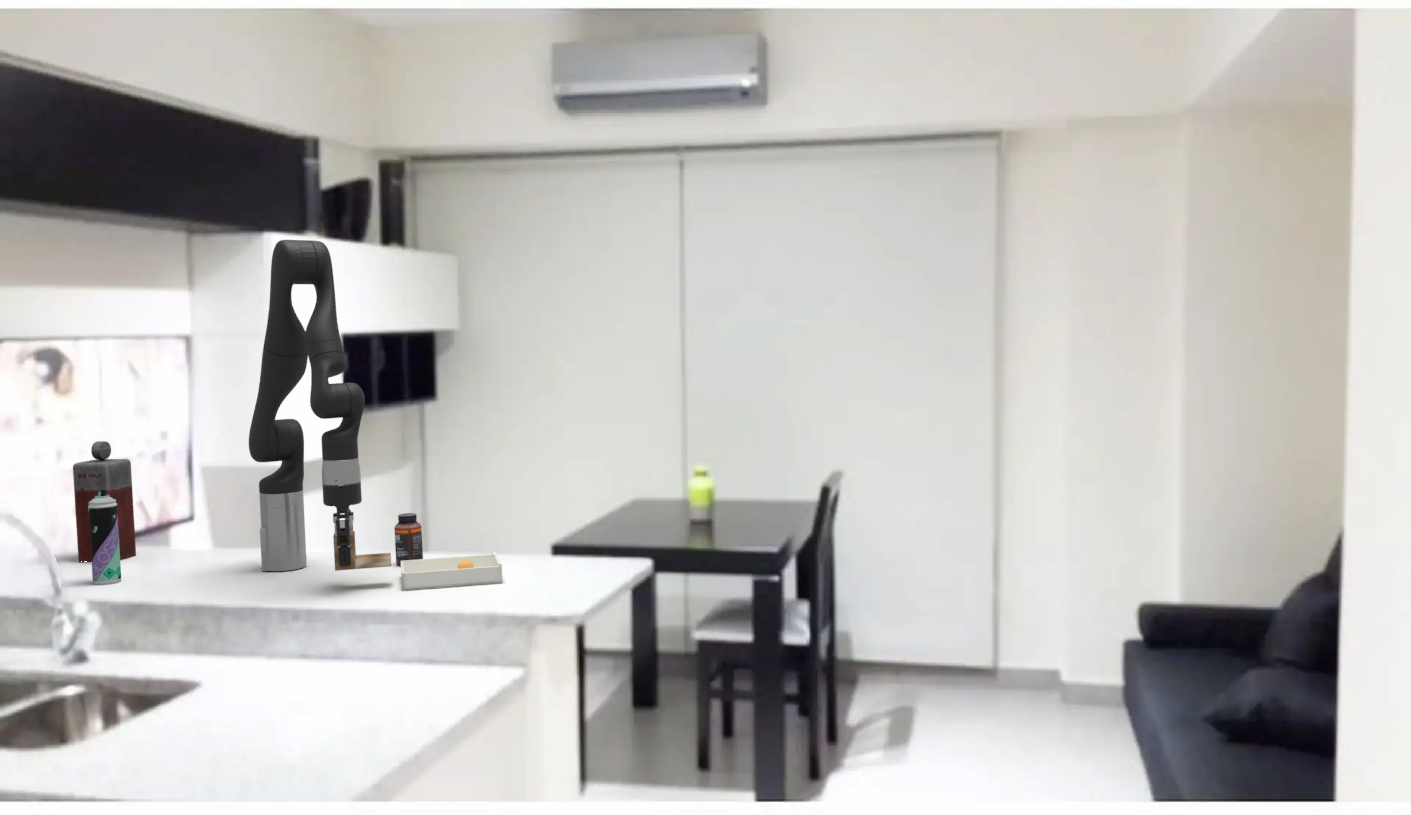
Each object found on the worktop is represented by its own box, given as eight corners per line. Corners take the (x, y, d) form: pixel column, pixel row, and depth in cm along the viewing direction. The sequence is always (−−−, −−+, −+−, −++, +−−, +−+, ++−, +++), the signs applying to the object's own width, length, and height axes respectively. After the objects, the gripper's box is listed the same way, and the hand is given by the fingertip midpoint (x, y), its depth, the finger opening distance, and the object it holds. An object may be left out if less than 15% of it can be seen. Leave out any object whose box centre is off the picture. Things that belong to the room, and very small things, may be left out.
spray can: (92, 586, 253) (87, 492, 252) (92, 581, 258) (87, 489, 257) (121, 582, 256) (116, 490, 254) (121, 578, 261) (115, 487, 259)
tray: (402, 590, 242) (401, 571, 241) (401, 576, 255) (400, 558, 255) (502, 583, 247) (501, 563, 246) (496, 569, 260) (495, 551, 260)
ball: (451, 570, 252) (461, 580, 250) (458, 557, 251) (468, 568, 249) (462, 568, 254) (472, 578, 253) (469, 555, 253) (479, 566, 252)
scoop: (335, 570, 242) (333, 536, 242) (336, 566, 247) (334, 532, 247) (391, 566, 245) (389, 532, 245) (391, 562, 250) (389, 528, 249)
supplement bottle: (426, 561, 272) (425, 511, 271) (418, 566, 266) (416, 516, 265) (401, 561, 272) (399, 512, 272) (392, 566, 266) (389, 516, 266)
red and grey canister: (94, 554, 289) (87, 439, 287) (136, 555, 287) (130, 439, 285) (69, 562, 281) (61, 443, 279) (112, 562, 279) (105, 443, 277)
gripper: (324, 478, 250) (328, 558, 251) (320, 486, 236) (324, 571, 237) (361, 476, 252) (365, 556, 253) (360, 484, 238) (364, 568, 239)
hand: (345, 563), depth 245 cm, fingers closed on scoop, 5 cm apart
